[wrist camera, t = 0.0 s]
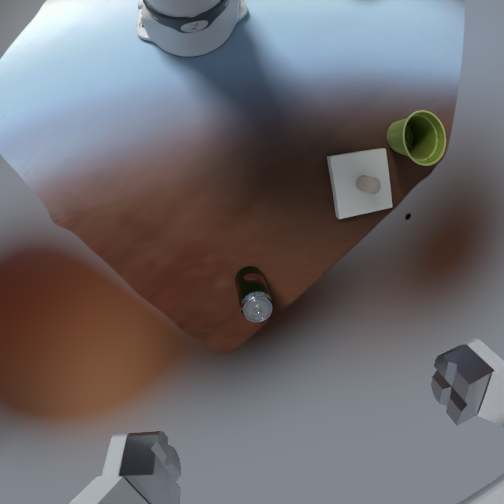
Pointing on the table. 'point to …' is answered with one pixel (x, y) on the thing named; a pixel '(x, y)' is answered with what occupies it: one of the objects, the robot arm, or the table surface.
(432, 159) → the plant pot
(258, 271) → the soda can
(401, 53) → the table surface
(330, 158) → the lid
